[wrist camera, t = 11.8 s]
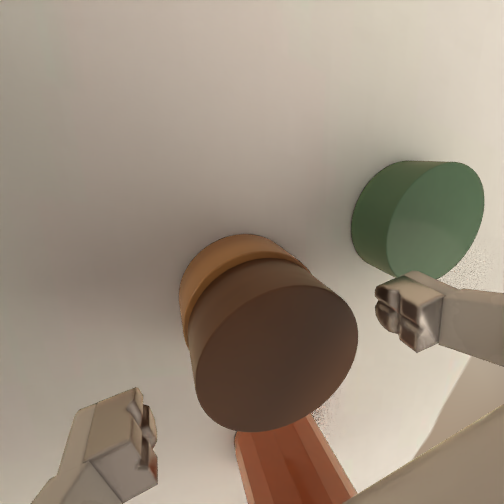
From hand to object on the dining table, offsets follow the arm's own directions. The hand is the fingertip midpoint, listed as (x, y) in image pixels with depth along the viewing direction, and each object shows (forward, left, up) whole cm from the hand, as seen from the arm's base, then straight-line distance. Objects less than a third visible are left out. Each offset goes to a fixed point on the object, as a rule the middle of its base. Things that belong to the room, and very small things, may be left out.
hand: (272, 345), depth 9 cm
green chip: (+7, +8, -6) cm, 12 cm away
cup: (+9, -8, -6) cm, 13 cm away
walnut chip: (+1, -1, -3) cm, 3 cm away
